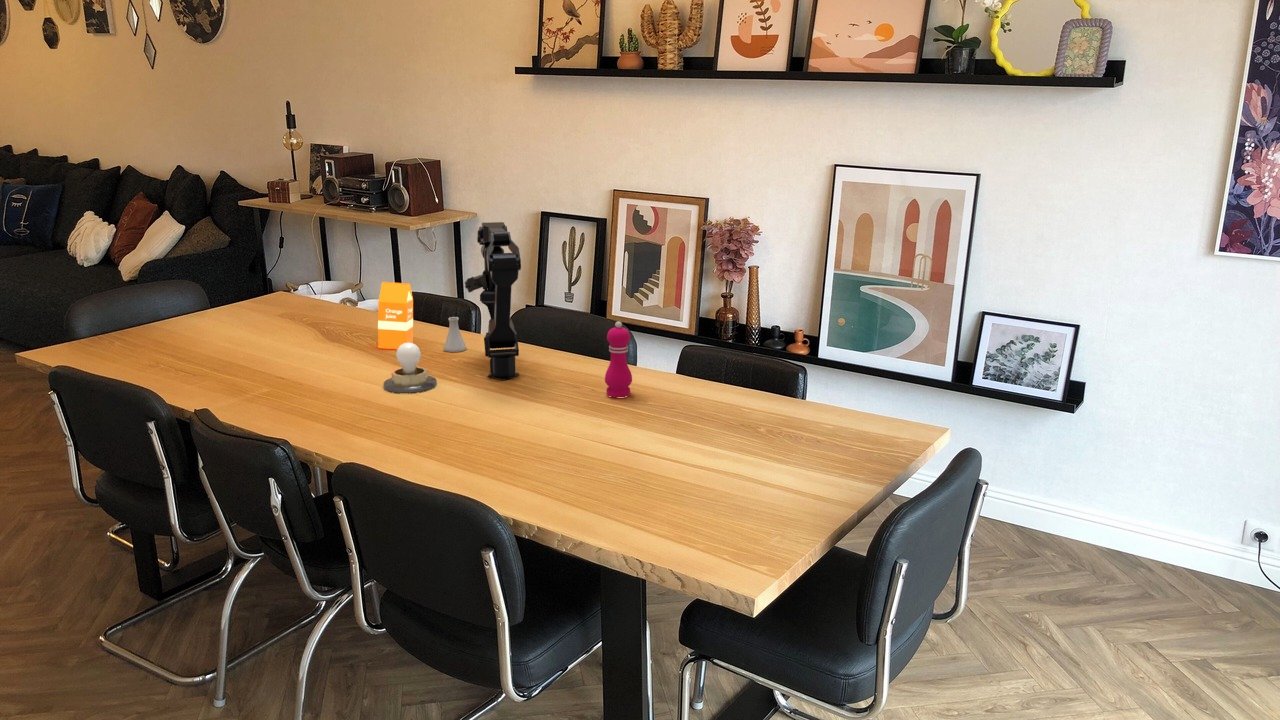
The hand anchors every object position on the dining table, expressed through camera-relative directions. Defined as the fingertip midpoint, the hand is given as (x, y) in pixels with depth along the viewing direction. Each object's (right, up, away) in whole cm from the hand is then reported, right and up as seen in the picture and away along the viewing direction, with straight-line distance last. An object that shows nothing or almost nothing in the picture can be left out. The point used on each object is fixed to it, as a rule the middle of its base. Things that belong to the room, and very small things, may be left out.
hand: (496, 319), depth 272 cm
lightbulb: (-20, -18, -19) cm, 33 cm away
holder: (-20, -19, -18) cm, 33 cm away
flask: (-15, -9, +17) cm, 24 cm away
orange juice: (-34, -8, +20) cm, 40 cm away
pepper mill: (+36, -21, -24) cm, 48 cm away
